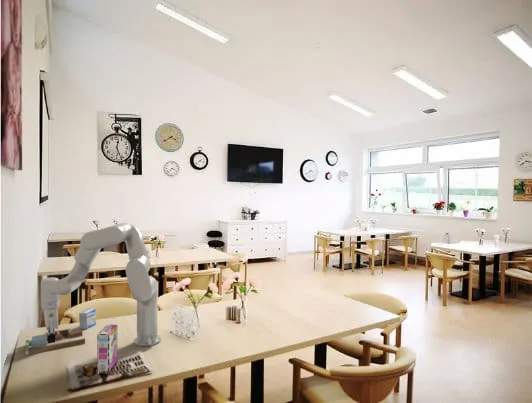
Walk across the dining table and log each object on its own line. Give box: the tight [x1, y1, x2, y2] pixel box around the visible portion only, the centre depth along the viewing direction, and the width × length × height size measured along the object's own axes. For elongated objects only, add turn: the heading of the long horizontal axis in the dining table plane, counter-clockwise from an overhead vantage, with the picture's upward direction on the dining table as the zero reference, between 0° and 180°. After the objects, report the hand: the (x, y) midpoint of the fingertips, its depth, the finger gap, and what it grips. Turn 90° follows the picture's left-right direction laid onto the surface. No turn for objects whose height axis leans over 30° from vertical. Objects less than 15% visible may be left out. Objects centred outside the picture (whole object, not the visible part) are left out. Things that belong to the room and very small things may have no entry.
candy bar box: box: [96, 324, 118, 372], centre depth 156 cm, size 11×5×16 cm, turn 5°
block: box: [31, 333, 48, 349], centre depth 177 cm, size 6×6×5 cm
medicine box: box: [78, 308, 97, 330], centre depth 203 cm, size 8×4×9 cm, turn 168°
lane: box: [25, 328, 86, 356], centre depth 183 cm, size 18×24×4 cm
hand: (51, 342), depth 180 cm, fingers closed
